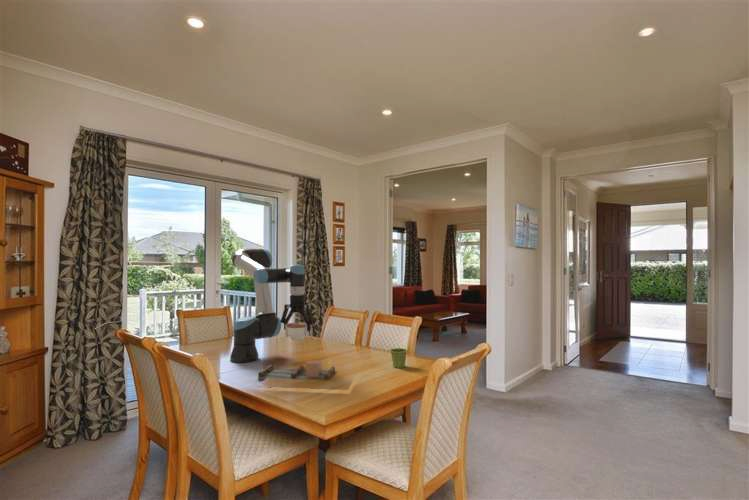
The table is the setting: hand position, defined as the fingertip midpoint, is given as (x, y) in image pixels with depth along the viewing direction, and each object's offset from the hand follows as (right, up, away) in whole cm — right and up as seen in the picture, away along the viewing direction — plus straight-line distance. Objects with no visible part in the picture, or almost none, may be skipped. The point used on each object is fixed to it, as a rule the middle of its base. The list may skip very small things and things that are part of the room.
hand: (297, 337), depth 214 cm
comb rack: (+3, -16, -17) cm, 23 cm away
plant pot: (+53, -16, +3) cm, 55 cm away
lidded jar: (0, -1, 0) cm, 1 cm away
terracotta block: (+11, -14, -18) cm, 25 cm away
